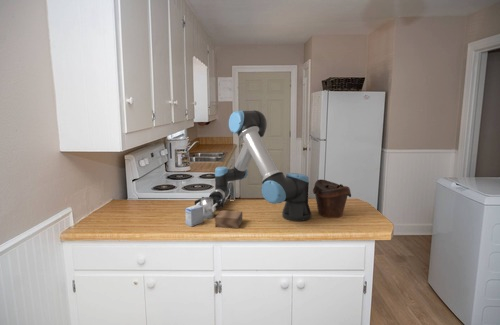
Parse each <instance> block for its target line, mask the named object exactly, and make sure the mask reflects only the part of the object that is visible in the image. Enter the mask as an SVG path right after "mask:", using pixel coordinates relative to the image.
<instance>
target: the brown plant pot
mask: <svg viewBox="0 0 500 325" xmlns="http://www.w3.org/2000/svg"><path fill="white" fill-rule="evenodd" d="M312 192H313V194H314V195H315V201H316V206H317V207H316V208H317V210H318V211H317V212H318V214H319V215H320V216H322V217H325V218H340V217H343V214H344V210H345V206H346V202H347V200H348V197H349V198H351V197H352V193H351V189H350V187H349V186H345V185H343V184H342V183H341V184H338V183H336V182H333V181H329V180H326V179H317V180H316V181H315V182H314V187H313V189H312Z"/></svg>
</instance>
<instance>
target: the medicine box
mask: <svg viewBox="0 0 500 325" xmlns="http://www.w3.org/2000/svg"><path fill="white" fill-rule="evenodd" d="M184 211H185V216H184V217H185V225H186V226H188V227H194V226H196V225H199V224H202V223H204V219H203V206H200V205H195V204H194V205H191V206H189V207H186V208H185V210H184Z"/></svg>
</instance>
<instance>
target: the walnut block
mask: <svg viewBox="0 0 500 325" xmlns="http://www.w3.org/2000/svg"><path fill="white" fill-rule="evenodd" d="M214 221H215V223H214V224H215V228H222V229H239V227H240V225H241V224H242V223H243V211H239V210H238V211H237V210H236V211H235V210H220V211H219V213H217V214H216V215H215V217H214Z"/></svg>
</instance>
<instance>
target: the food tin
mask: <svg viewBox="0 0 500 325" xmlns="http://www.w3.org/2000/svg"><path fill="white" fill-rule="evenodd" d="M202 197H203V198H202ZM202 197H201V198H200V199H201V206H203V220H211V219H214V212H212V206H213V198H212V197H209V196H202Z"/></svg>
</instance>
